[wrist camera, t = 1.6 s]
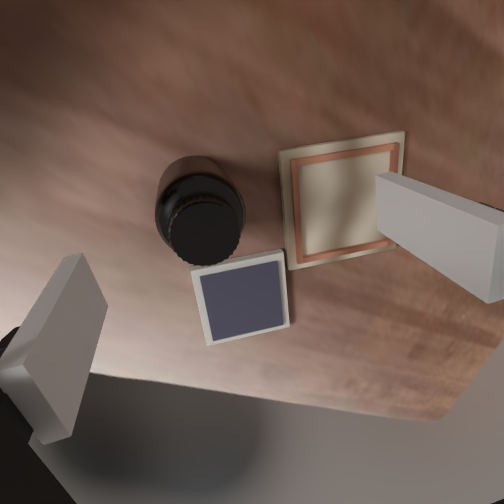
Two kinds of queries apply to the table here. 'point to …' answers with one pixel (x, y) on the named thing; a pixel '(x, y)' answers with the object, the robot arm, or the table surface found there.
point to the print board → (335, 197)
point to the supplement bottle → (199, 211)
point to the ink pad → (242, 296)
